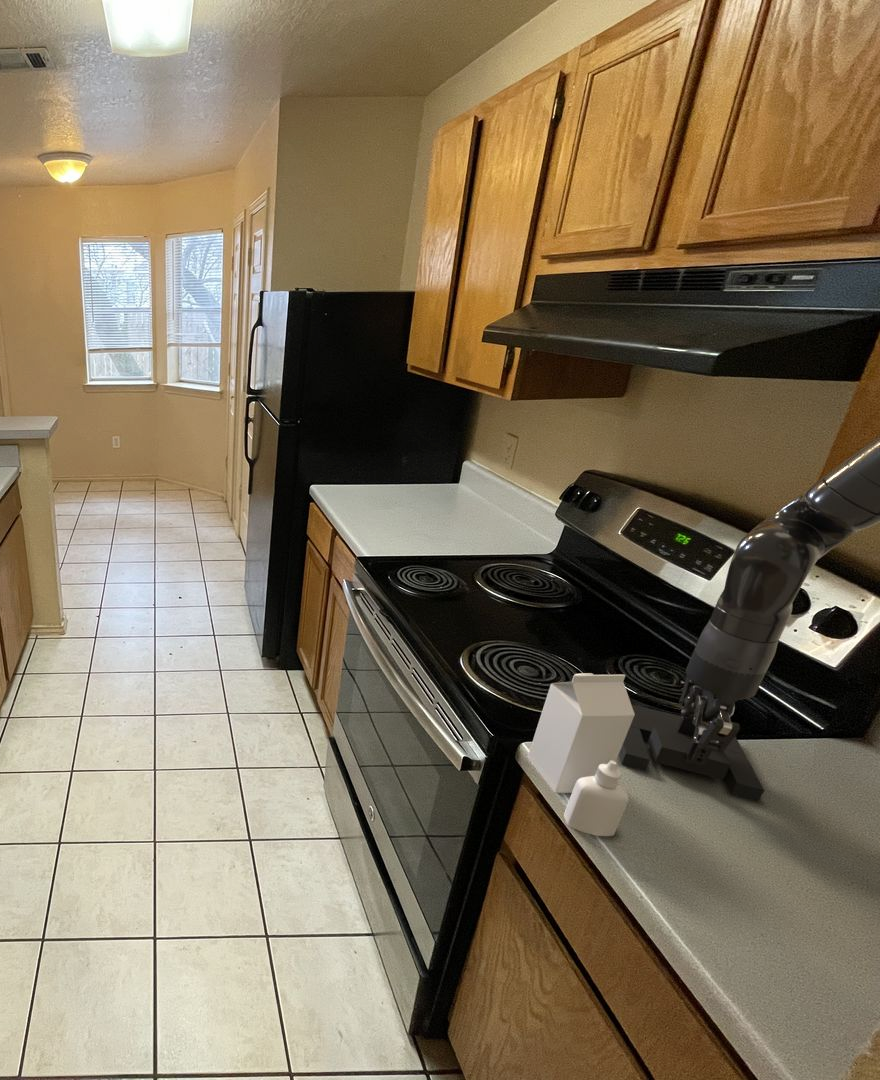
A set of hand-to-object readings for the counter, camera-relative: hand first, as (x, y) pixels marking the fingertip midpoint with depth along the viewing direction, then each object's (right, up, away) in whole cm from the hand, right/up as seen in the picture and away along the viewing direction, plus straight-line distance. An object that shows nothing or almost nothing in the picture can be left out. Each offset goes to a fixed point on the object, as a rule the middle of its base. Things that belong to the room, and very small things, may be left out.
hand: (688, 749), depth 89 cm
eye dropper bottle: (-21, -8, -8) cm, 24 cm away
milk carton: (-19, -5, +1) cm, 19 cm away
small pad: (0, -2, +1) cm, 2 cm away
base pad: (+1, -2, +4) cm, 5 cm away
